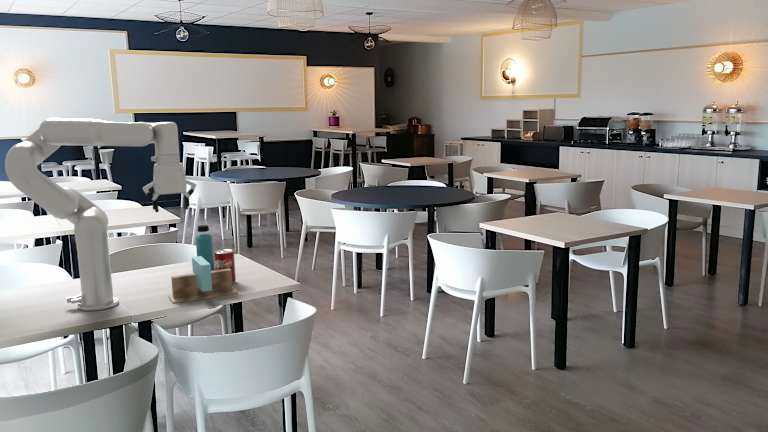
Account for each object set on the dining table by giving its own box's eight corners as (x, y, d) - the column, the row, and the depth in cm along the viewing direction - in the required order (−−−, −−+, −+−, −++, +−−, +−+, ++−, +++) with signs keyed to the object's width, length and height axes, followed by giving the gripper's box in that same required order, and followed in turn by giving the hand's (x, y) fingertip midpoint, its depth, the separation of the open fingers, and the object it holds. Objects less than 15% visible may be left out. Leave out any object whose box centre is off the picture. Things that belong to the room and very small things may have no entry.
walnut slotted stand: (172, 303, 221) (171, 280, 220) (168, 297, 228) (166, 274, 227) (237, 293, 231) (236, 271, 230) (231, 288, 238) (230, 266, 237)
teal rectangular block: (202, 291, 222) (200, 265, 220) (193, 281, 234) (191, 257, 233) (212, 290, 224) (210, 264, 222) (202, 280, 236) (201, 256, 234)
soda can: (230, 286, 241) (228, 253, 239) (212, 285, 243) (210, 253, 240) (239, 280, 248) (237, 249, 246) (220, 279, 250) (219, 248, 247)
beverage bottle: (219, 275, 256) (215, 224, 252) (206, 279, 250) (202, 227, 247) (207, 273, 259) (203, 223, 256) (194, 277, 254) (190, 226, 250)
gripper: (142, 161, 213) (146, 214, 216) (196, 158, 221) (200, 209, 224) (138, 160, 220) (142, 211, 223) (191, 157, 228) (195, 206, 231)
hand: (171, 210), depth 223 cm, fingers open, 9 cm apart
